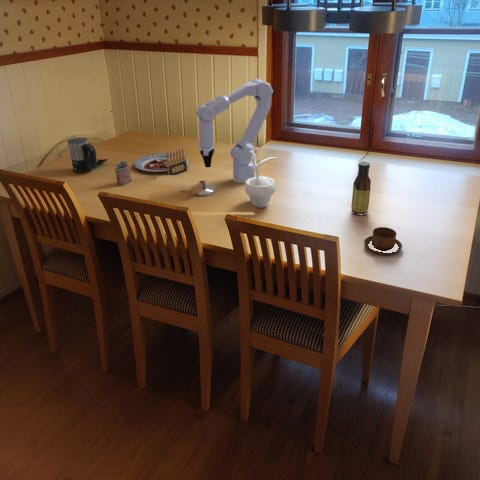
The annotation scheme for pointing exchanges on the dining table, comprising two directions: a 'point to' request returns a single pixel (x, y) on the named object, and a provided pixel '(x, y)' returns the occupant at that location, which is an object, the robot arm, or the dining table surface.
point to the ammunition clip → (176, 162)
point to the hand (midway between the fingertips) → (208, 166)
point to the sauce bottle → (361, 189)
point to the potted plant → (259, 185)
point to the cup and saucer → (383, 240)
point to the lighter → (123, 173)
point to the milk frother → (83, 155)
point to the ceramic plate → (153, 163)
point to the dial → (202, 189)
